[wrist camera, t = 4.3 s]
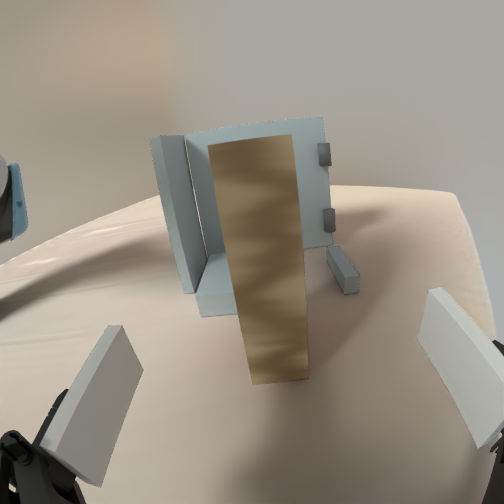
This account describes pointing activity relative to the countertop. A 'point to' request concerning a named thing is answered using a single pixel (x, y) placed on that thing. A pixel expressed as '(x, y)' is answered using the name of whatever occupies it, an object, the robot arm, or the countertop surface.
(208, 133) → the cabinet
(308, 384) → the countertop surface
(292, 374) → the door panel
